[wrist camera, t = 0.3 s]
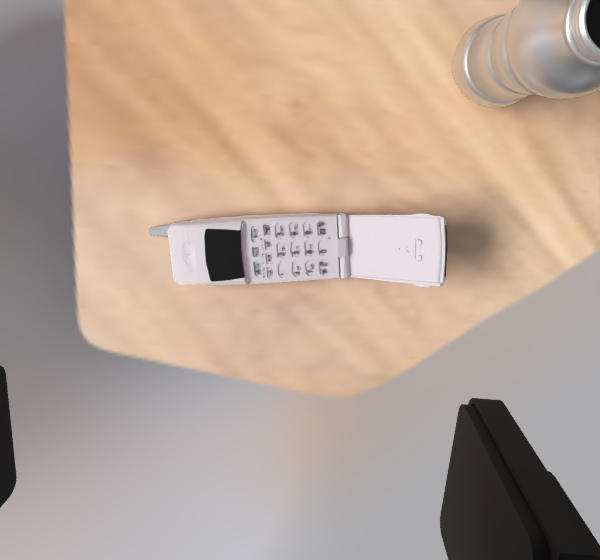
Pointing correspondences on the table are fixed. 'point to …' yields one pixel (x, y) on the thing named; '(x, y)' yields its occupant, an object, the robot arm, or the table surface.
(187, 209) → the table surface
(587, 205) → the table surface
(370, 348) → the table surface
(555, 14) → the plastic bottle
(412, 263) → the mobile phone
